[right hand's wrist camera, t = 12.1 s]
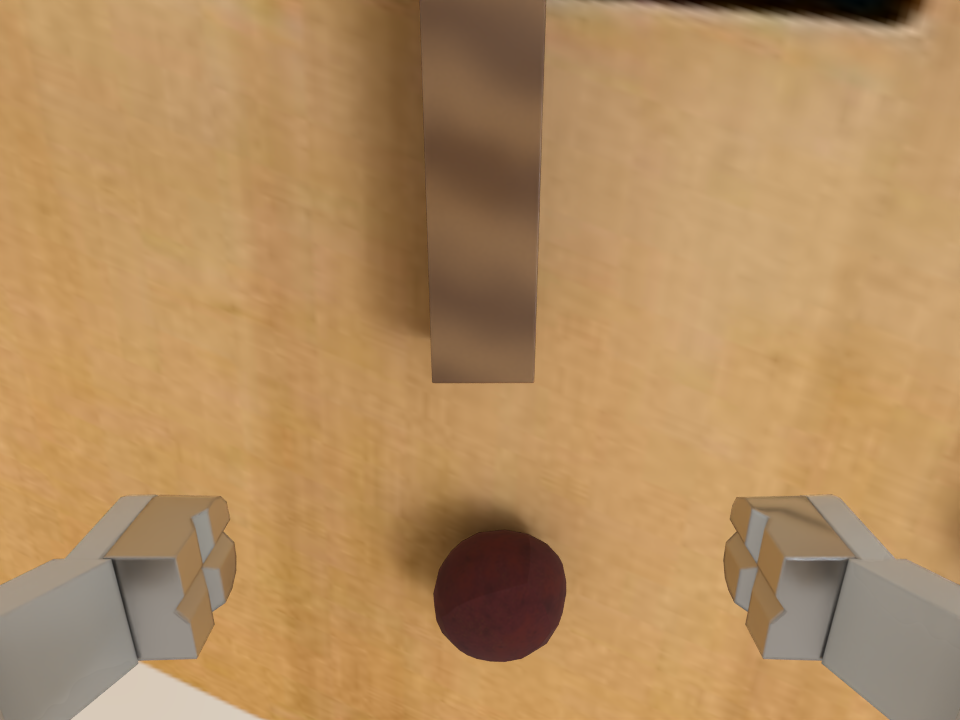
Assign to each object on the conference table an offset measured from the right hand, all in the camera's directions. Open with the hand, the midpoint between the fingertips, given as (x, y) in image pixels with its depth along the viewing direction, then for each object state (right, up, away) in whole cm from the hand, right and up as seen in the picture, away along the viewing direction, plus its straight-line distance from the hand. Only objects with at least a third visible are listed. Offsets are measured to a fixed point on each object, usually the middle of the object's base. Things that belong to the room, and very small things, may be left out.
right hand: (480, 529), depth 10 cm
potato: (+1, -9, +30) cm, 31 cm away
